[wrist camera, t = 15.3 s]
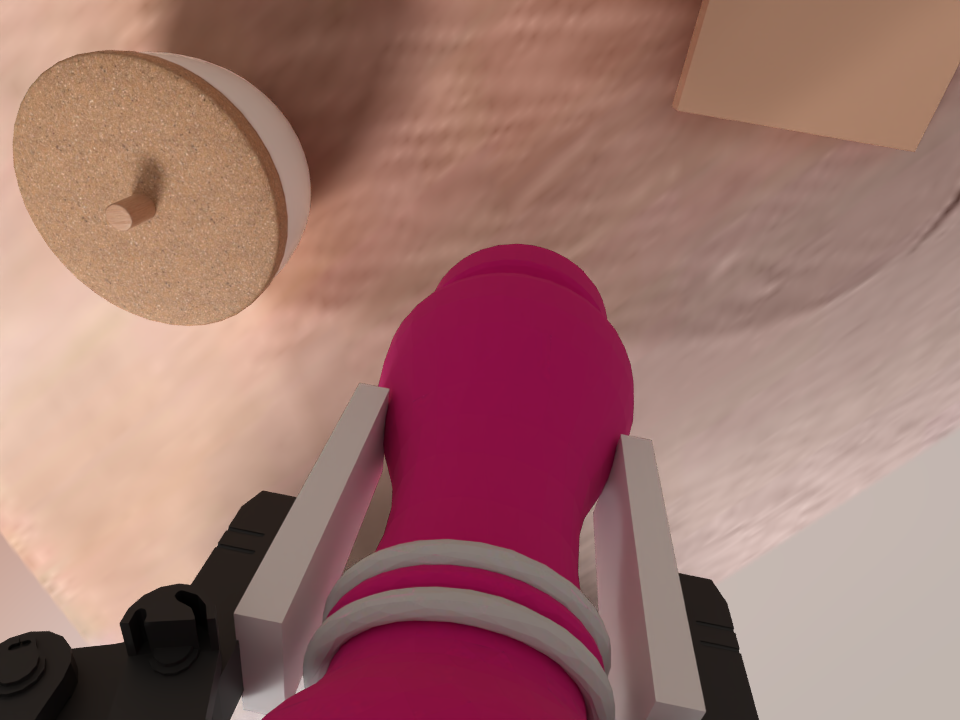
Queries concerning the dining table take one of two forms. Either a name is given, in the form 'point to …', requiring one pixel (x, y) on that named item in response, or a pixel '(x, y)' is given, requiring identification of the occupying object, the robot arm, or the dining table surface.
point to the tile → (823, 66)
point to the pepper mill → (483, 508)
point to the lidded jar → (161, 182)
